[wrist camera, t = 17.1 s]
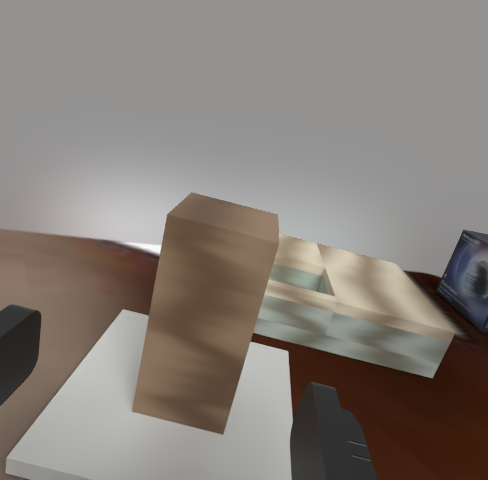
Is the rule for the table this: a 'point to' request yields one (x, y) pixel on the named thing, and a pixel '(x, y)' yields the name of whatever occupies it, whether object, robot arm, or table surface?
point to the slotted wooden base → (351, 308)
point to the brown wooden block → (204, 310)
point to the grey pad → (156, 422)
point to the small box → (468, 279)
